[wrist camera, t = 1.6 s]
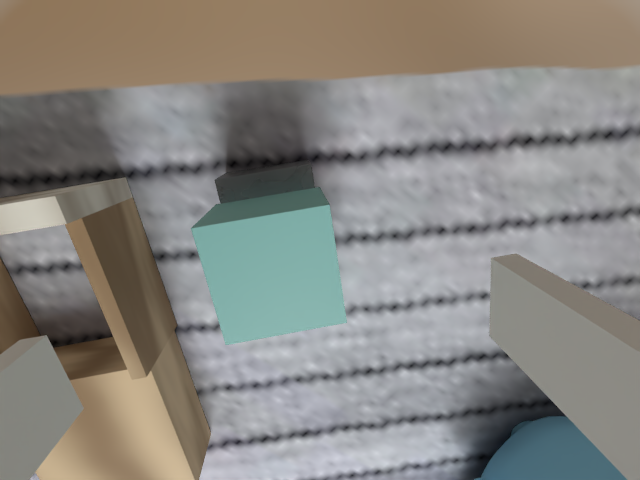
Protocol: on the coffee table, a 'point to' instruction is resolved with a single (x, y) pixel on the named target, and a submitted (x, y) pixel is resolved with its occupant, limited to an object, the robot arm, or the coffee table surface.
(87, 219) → the drawer
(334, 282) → the block
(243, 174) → the dark grey block
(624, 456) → the robot arm
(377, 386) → the coffee table surface
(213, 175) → the coffee table surface
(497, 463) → the decorative pot
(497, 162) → the coffee table surface
